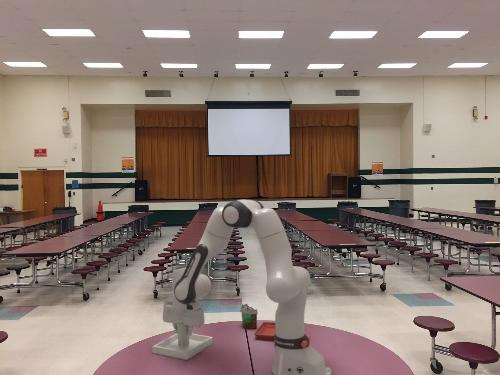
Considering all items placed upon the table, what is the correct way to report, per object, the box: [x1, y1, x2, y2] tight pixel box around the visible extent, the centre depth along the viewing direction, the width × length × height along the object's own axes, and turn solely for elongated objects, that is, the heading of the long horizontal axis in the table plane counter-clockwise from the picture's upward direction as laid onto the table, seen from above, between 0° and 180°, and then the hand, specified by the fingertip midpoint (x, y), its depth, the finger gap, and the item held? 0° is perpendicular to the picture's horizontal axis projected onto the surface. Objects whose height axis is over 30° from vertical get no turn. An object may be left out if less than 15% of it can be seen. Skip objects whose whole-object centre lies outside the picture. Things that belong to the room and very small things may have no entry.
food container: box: [239, 303, 258, 330], centre depth 216 cm, size 12×6×10 cm, turn 25°
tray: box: [151, 333, 214, 361], centre depth 189 cm, size 18×20×3 cm
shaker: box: [177, 319, 190, 346], centre depth 189 cm, size 5×5×12 cm
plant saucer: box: [253, 321, 275, 341], centre depth 204 cm, size 18×18×3 cm
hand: (183, 334), depth 189 cm, fingers closed on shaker, 5 cm apart
